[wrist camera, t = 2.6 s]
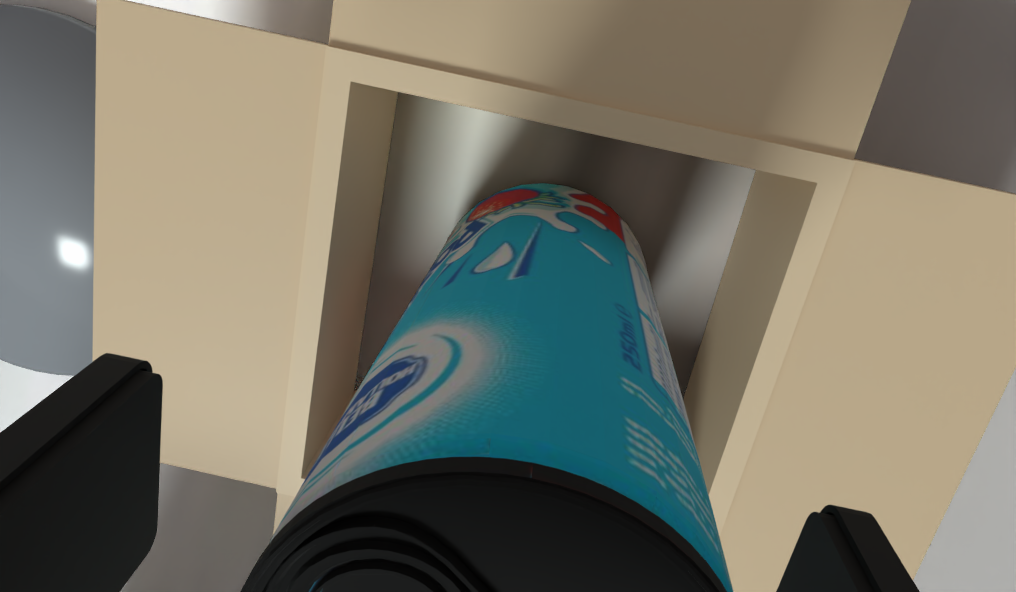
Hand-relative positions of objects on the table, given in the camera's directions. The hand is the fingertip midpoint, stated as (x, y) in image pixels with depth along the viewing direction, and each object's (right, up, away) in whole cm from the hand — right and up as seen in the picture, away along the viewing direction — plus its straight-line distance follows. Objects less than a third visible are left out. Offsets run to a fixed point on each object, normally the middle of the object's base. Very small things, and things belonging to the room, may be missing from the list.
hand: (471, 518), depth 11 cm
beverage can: (+2, +4, +12) cm, 13 cm away
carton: (+2, +4, +12) cm, 12 cm away
